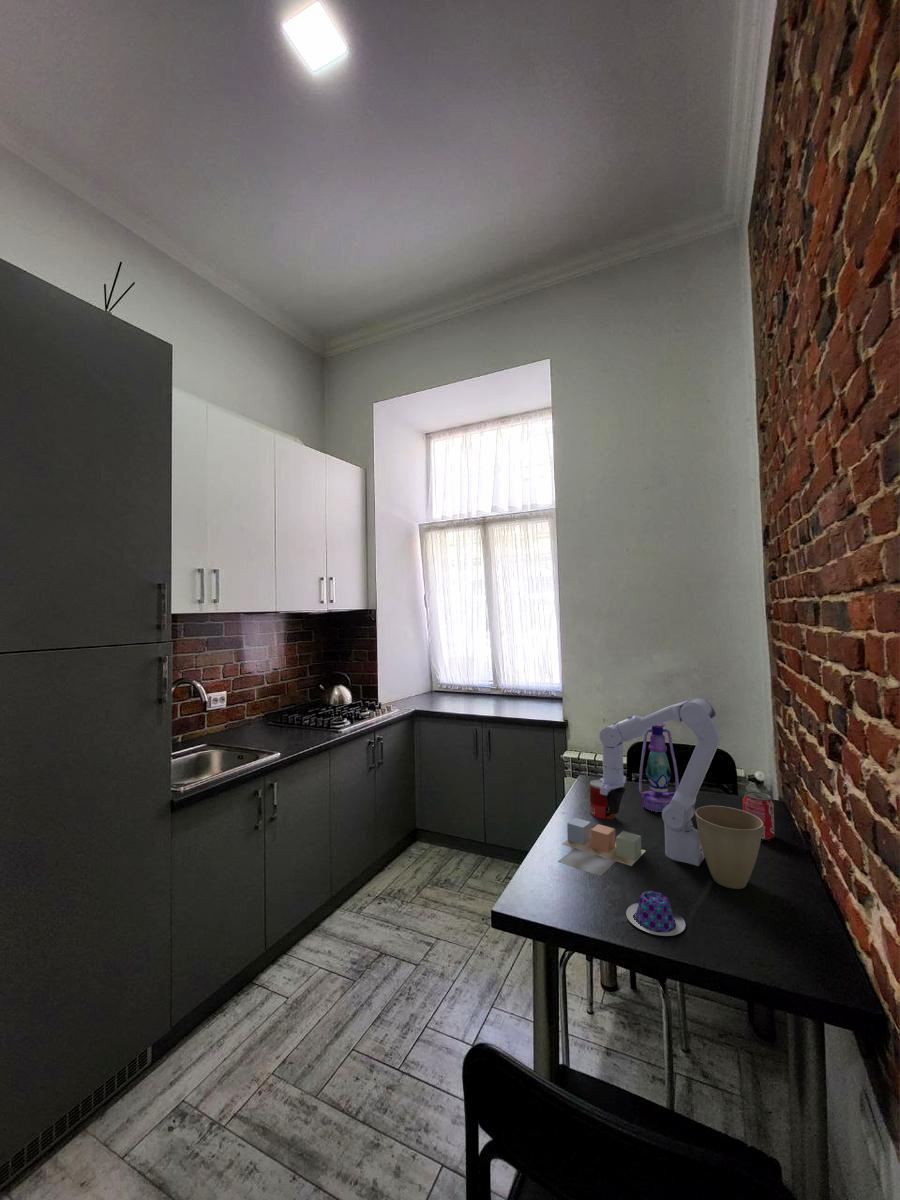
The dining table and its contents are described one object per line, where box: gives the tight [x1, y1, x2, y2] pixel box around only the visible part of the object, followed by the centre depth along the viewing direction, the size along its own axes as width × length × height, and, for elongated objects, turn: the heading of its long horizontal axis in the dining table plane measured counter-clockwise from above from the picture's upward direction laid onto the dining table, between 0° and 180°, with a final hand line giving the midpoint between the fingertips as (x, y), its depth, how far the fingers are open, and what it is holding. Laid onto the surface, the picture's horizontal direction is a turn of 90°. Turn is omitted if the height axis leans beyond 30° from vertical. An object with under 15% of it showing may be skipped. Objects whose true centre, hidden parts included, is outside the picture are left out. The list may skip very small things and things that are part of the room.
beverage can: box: [742, 791, 776, 840], centre depth 150 cm, size 8×8×12 cm
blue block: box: [566, 817, 592, 845], centre depth 146 cm, size 5×5×5 cm
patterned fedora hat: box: [625, 890, 686, 937], centre depth 109 cm, size 12×12×5 cm
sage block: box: [615, 830, 642, 862], centre depth 136 cm, size 5×5×5 cm
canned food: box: [589, 779, 616, 821], centre depth 165 cm, size 8×8×11 cm
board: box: [557, 839, 647, 877], centre depth 137 cm, size 20×21×1 cm
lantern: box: [638, 722, 680, 813], centre depth 172 cm, size 13×12×30 cm
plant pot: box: [694, 805, 763, 890], centre depth 124 cm, size 15×15×16 cm
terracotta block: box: [591, 823, 616, 853], centre depth 141 cm, size 5×5×5 cm
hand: (613, 812), depth 147 cm, fingers closed
